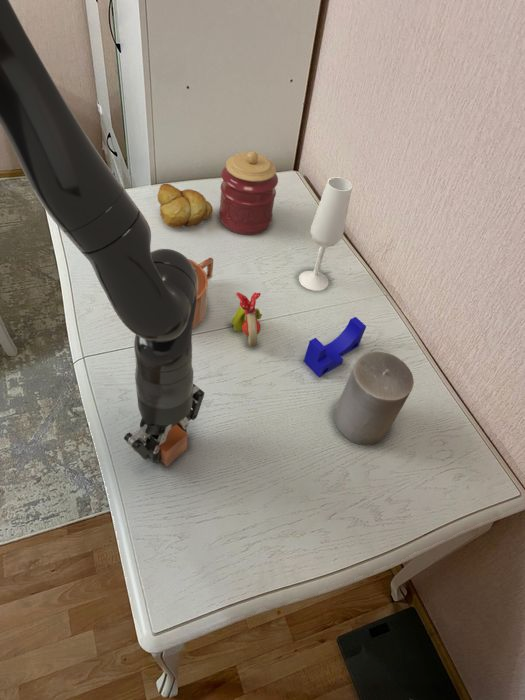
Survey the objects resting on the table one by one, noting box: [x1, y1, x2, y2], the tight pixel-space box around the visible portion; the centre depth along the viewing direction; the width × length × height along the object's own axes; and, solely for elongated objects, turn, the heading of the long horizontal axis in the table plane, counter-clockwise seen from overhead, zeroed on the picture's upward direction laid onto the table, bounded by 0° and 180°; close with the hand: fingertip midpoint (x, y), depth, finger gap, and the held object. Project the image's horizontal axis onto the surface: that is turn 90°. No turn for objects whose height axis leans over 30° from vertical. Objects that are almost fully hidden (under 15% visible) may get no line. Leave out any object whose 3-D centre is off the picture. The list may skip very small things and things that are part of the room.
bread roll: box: [157, 183, 214, 228], centre depth 117 cm, size 13×10×8 cm
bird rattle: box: [230, 292, 263, 347], centre depth 95 cm, size 6×11×9 cm
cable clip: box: [303, 316, 367, 378], centre depth 96 cm, size 12×4×6 cm, turn 128°
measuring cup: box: [187, 257, 214, 330], centre depth 99 cm, size 19×14×8 cm
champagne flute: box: [298, 176, 353, 292], centre depth 103 cm, size 7×7×24 cm
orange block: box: [160, 424, 189, 467], centre depth 79 cm, size 4×4×4 cm
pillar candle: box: [333, 350, 415, 446], centre depth 83 cm, size 10×10×15 cm
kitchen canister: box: [218, 150, 279, 236], centre depth 117 cm, size 13×13×18 cm
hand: (167, 447), depth 80 cm, fingers closed on orange block, 4 cm apart
